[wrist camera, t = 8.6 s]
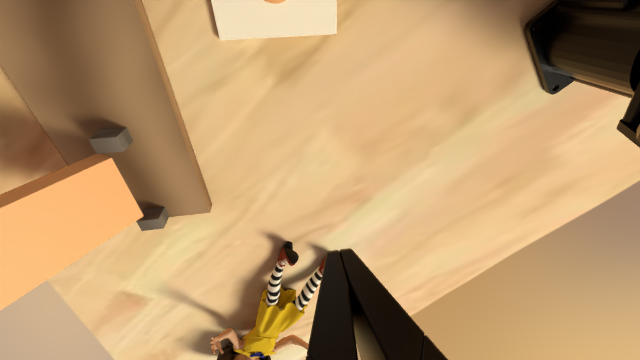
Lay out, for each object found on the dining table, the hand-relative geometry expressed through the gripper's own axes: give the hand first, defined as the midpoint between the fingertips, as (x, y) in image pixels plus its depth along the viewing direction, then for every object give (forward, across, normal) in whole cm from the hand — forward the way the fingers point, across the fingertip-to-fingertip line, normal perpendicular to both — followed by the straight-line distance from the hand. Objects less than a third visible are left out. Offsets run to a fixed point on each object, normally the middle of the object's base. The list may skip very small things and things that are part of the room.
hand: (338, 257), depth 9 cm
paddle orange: (+11, +13, +3) cm, 18 cm away
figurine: (+14, +6, +25) cm, 29 cm away
